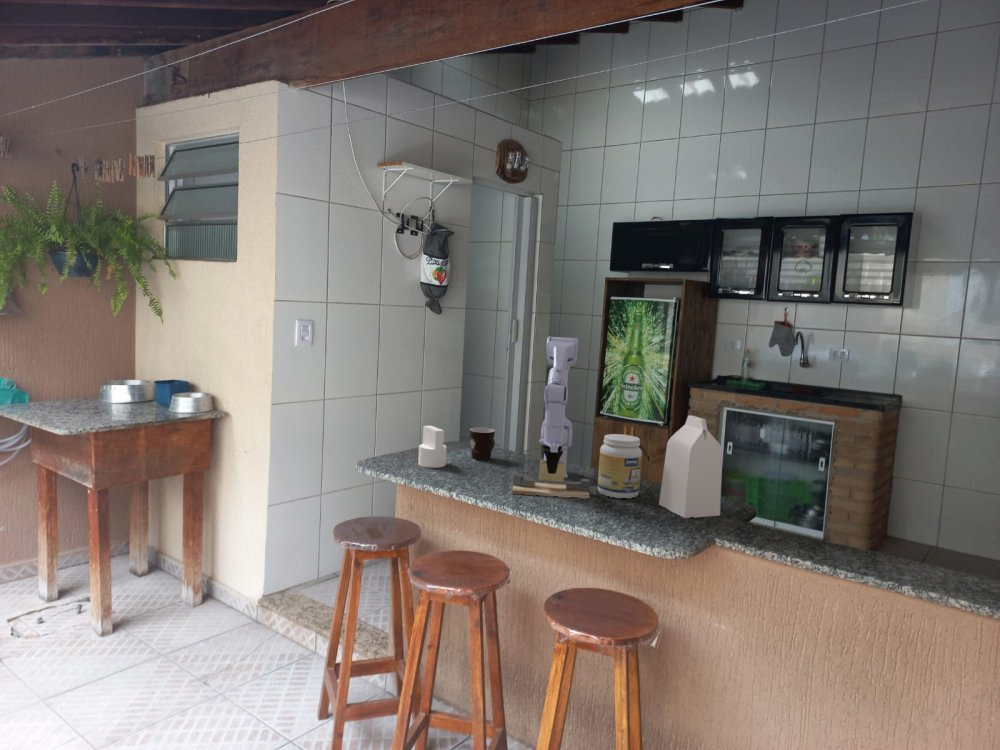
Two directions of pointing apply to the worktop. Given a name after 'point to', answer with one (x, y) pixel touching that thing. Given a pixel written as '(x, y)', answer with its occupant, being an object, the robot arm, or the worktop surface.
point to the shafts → (577, 486)
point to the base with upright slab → (432, 448)
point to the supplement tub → (620, 466)
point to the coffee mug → (482, 443)
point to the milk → (692, 471)
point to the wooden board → (549, 490)
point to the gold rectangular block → (551, 477)
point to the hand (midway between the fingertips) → (551, 471)
